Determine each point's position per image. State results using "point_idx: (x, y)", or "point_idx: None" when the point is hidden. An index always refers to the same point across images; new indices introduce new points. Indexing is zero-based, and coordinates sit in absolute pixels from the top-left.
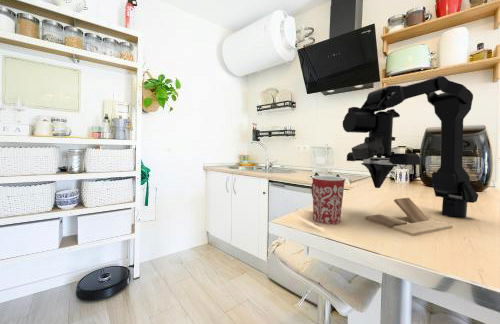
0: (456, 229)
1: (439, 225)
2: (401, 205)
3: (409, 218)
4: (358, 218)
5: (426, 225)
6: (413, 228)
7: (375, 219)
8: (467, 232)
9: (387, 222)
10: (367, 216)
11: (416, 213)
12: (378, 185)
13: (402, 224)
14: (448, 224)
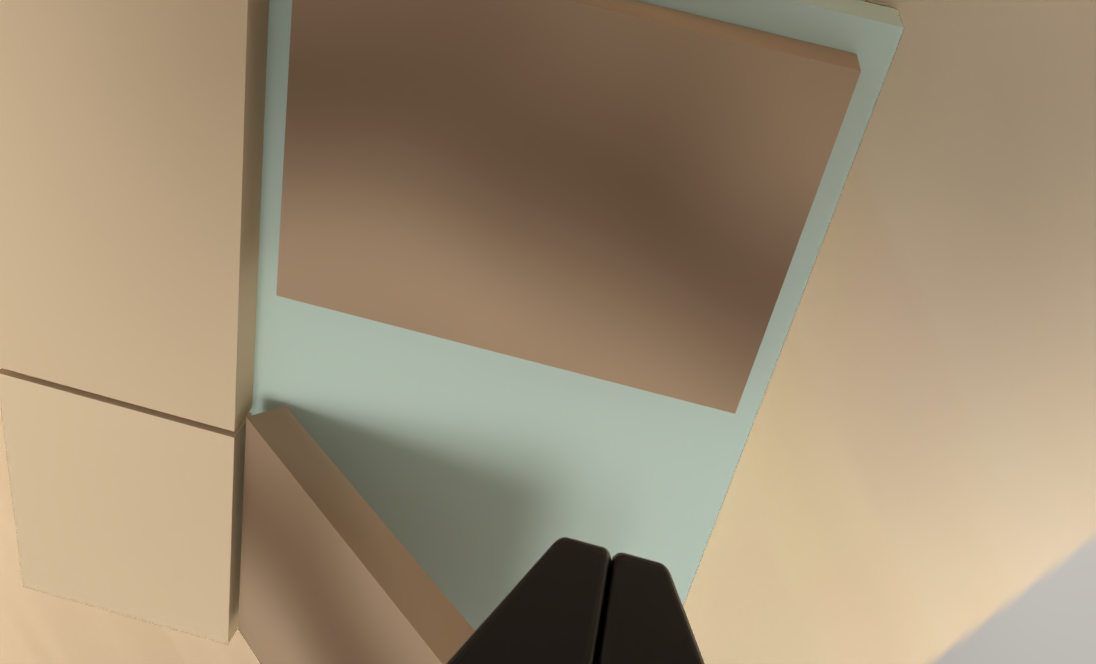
0: (110, 641)
1: (62, 485)
2: (408, 628)
3: (330, 462)
4: (1043, 153)
5: (109, 370)
6: (75, 79)
7: (627, 19)
8: (27, 619)
9: (406, 16)
10: (824, 90)
11: (302, 620)
12: (508, 612)
13: (291, 194)
14: (59, 591)
